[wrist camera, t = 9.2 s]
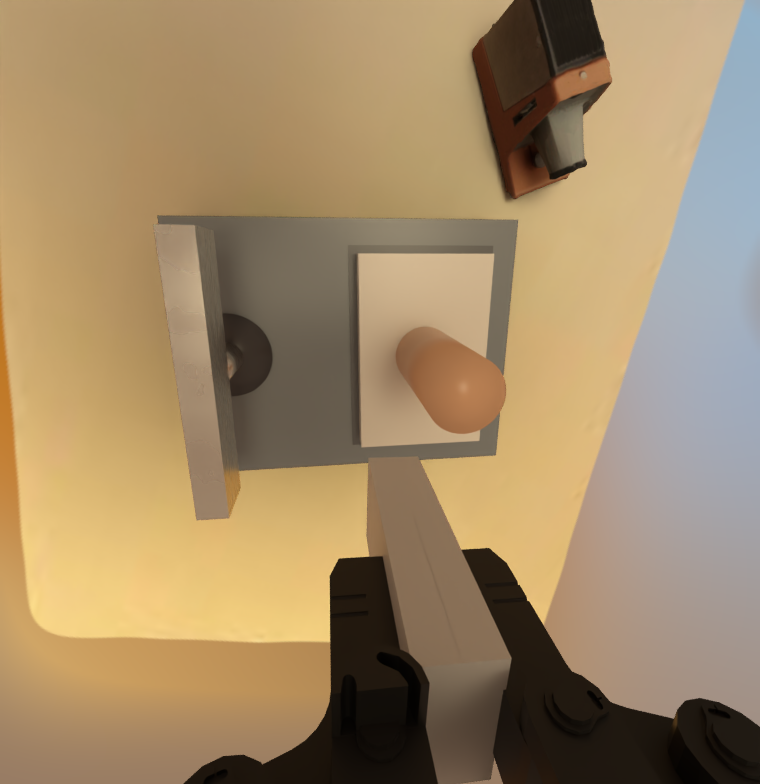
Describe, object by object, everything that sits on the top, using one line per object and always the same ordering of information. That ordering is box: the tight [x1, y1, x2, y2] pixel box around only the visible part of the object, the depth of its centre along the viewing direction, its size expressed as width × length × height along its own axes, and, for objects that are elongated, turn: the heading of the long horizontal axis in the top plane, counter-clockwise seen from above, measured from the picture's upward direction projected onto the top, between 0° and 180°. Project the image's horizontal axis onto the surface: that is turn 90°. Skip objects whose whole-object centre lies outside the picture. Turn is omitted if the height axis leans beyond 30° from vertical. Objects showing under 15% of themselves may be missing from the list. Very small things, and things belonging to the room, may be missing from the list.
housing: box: [157, 216, 518, 471], centre depth 29 cm, size 16×21×5 cm
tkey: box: [153, 224, 243, 520], centre depth 22 cm, size 2×14×6 cm, turn 0°
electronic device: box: [473, 0, 612, 199], centre depth 24 cm, size 4×10×8 cm, turn 21°
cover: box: [356, 253, 506, 447], centre depth 22 cm, size 12×8×10 cm, turn 1°
